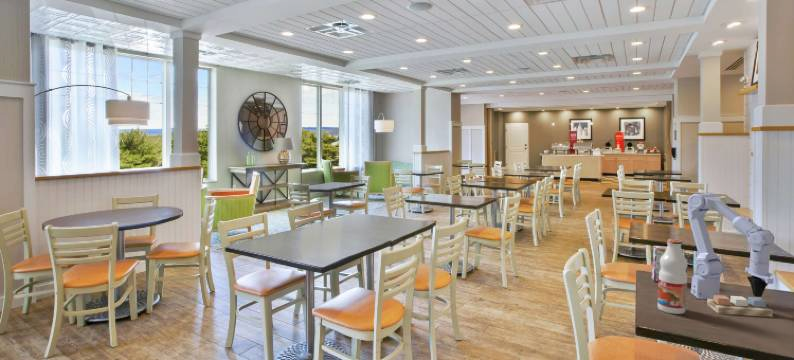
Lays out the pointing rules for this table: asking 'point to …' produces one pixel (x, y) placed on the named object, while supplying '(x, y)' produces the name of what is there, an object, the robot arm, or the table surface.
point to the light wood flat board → (740, 309)
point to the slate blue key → (756, 302)
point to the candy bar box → (657, 261)
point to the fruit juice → (672, 279)
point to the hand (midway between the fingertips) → (757, 296)
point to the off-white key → (739, 301)
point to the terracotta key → (721, 300)
